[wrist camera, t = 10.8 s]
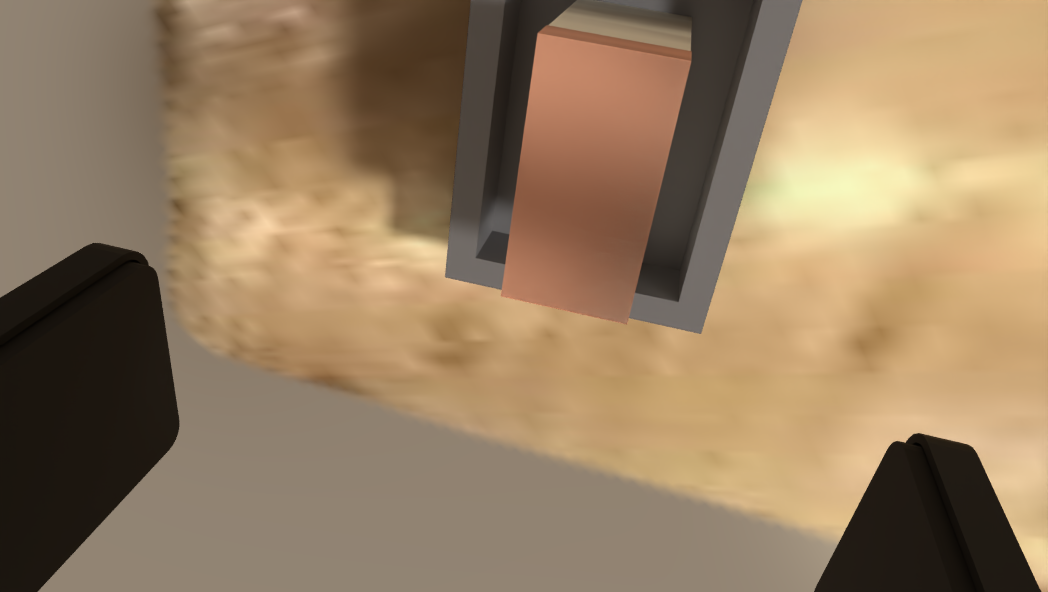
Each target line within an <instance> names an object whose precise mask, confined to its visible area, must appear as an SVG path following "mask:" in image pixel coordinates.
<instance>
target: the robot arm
mask: <svg viewBox="0 0 1048 592" xmlns="http://www.w3.org/2000/svg"><path fill="white" fill-rule="evenodd" d="M178 430H179V415H178V409H177V402H176V396H175V389H174V382H173V376H172V369H171V362H170V355H169V348H168V342H167V336H166V328H165V322H164V315H163V308H162V301H161V294H160V288H159V281H158V276H157V273H156V271H155V270H154V269H153V268H152V267H150V266H149V265H148V261H147V260H146V258H145V257H144V256H143V255H142V254H141V253H139V252H136V251H132V250H128V249H123V248H119V247H114V246H110V245H106V244H101V243H92V244H90V245H87V246H85V247H83V248H82V249H80V250H79V251H77V252H75V253H74V254H72V255H70V256H69V257H67V258H65V259H64V260H62V261H60V262H59V263H57V264H55V265H54V266H52V267H50V268H49V269H47V270H46V271H44V272H42V273H41V274H39V275H37V276H35V277H34V278H32V279H31V280H29V281H27V282H26V283H24V284H22V285H21V286H19V287H17V288H16V289H14V290H12V291H11V292H9V293H7V294H6V295H4V296H2V297H1V298H0V592H38V591H39V589H40V588H41V587H42V586H43V585H44V584H45V583H46V582H47V581H48V580H49V579H50V578H51V577H52V575H53V574H54V573H55V572H56V571H57V570H58V569H59V568H60V567H61V566H62V565H63V564H64V563H65V561H66V560H67V559H68V558H69V557H70V556H71V555H72V554H73V553H74V552H75V551H76V550H77V549H78V547H79V546H80V545H81V544H82V543H83V542H84V541H85V540H86V539H87V537H89V536H90V535H91V533H92V532H93V531H94V530H95V529H96V528H97V527H98V526H99V525H100V524H101V523H102V522H103V521H104V520H105V518H106V517H107V516H108V515H109V514H110V513H111V512H112V511H113V510H114V509H115V508H116V507H117V506H118V504H119V503H120V502H121V501H122V500H123V499H124V498H125V497H126V496H127V495H128V494H129V493H130V492H131V490H132V489H133V488H134V487H135V486H136V485H137V484H138V483H139V482H140V481H141V480H142V479H143V477H144V476H145V475H146V474H147V473H148V472H149V471H150V470H151V469H152V468H153V467H154V465H155V464H157V462H158V461H159V460H160V459H161V458H162V457H163V456H164V455H165V454H166V453H167V452H168V451H169V449H170V448H171V447H172V445H173V444H174V442H175V440H176V437H177V435H178ZM814 592H1041V590H1040V589H1039V586H1038V584H1037V582H1036V580H1035V578H1034V576H1033V573H1032V571H1031V569H1030V567H1029V565H1028V563H1027V560H1026V558H1025V556H1024V554H1023V552H1022V550H1021V548H1020V545H1019V543H1018V541H1017V539H1016V537H1015V535H1014V532H1013V530H1012V528H1011V526H1010V524H1009V522H1008V519H1007V517H1006V515H1005V513H1004V511H1003V509H1002V506H1001V504H1000V502H999V500H998V498H997V496H996V494H995V491H994V489H993V487H992V485H991V483H990V481H989V478H988V476H987V474H986V472H985V470H984V468H983V465H982V463H981V461H980V459H979V457H978V455H977V453H976V451H975V450H974V449H973V447H971V446H969V445H967V444H963V443H959V442H955V441H950V440H946V439H942V438H938V437H933V436H929V435H925V434H920V433H917V434H913V435H912V436H911V437H910V438H909V439H908V440H907V441H906V443H904V442H900V441H896V442H893V443H892V444H891V445H890V446H889V448H888V449H887V451H886V453H885V455H884V457H883V459H882V461H881V463H880V465H879V467H878V468H877V470H876V472H875V474H874V476H873V478H872V480H871V482H870V484H869V486H868V488H867V490H866V492H865V493H864V495H863V497H862V499H861V501H860V503H859V505H858V507H857V509H856V511H855V513H854V515H853V517H852V519H851V520H850V522H849V524H848V526H847V528H846V530H845V532H844V534H843V536H842V538H841V540H840V542H839V544H838V545H837V548H836V549H835V551H834V553H833V555H832V557H831V559H830V561H829V563H828V565H827V567H826V569H825V570H824V572H823V574H822V576H821V578H820V580H819V582H818V584H817V586H816V588H815V591H814Z"/></svg>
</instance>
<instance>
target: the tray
mask: <svg viewBox="0 0 1048 592" xmlns="http://www.w3.org/2000/svg"><path fill="white" fill-rule="evenodd" d="M575 1H576V0H471V4H470V15H469V26H468V36H467V47H466V58H465V69H464V79H463V90H462V101H461V112H460V122H459V133H458V144H457V155H456V165H455V176H454V187H453V198H452V208H451V219H450V230H449V241H448V251H447V262H446V273H445V277H446V278H451V279H455V280H460V281H464V282H469V283H473V284H478V285H482V286H487V287H491V288H496V289H500V290H502V285H503V277H504V270H505V263H506V256H507V249H508V242H509V234H510V227H511V220H512V213H513V206H514V199H515V192H516V184H517V177H518V170H519V163H520V156H521V149H522V142H523V134H524V127H525V120H526V113H527V106H528V99H529V92H530V84H531V77H532V70H533V63H534V56H535V49H536V41H537V34H538V32H539V31H541V30H542V29H543V28H544V27H545V26H546V25H549V24H550V23H552V22H553V21H554V20H555V19H556V18H557V17H558V16H559V15H561V14H562V13H563V12H564V11H565V10H566V9H567V8H569V7H570V6H571V5H572V4H573V3H574V2H575ZM597 1H603V2H608V3H614V4H620V5H625V6H631V7H637V8H642V9H648V10H654V11H659V12H665V13H671V14H676V15H682V16H688V17H692V29H691V51H692V56H691V65H690V69H689V73H688V77H687V81H686V85H685V89H684V93H683V97H682V101H681V106H680V110H679V114H678V118H677V122H676V126H675V130H674V134H673V138H672V142H671V146H670V151H669V155H668V159H667V163H666V167H665V171H664V175H663V179H662V183H661V187H660V191H659V196H658V200H657V204H656V208H655V212H654V216H653V220H652V224H651V228H650V232H649V237H648V241H647V245H646V249H645V253H644V257H643V261H642V265H641V269H640V273H639V277H638V282H637V286H636V290H635V294H634V298H633V302H632V306H631V310H630V314H629V318H631V319H636V320H640V321H645V322H649V323H654V324H658V325H663V326H667V327H672V328H676V329H681V330H685V331H690V332H694V333H699V334H701V332H702V329H703V326H704V322H705V319H706V316H707V312H708V309H709V306H710V302H711V299H712V296H713V293H714V289H715V286H716V283H717V279H718V276H719V273H720V270H721V266H722V263H723V260H724V256H725V253H726V250H727V247H728V243H729V240H730V237H731V233H732V230H733V227H734V224H735V220H736V217H737V214H738V210H739V207H740V204H741V200H742V197H743V194H744V191H745V187H746V184H747V181H748V177H749V174H750V171H751V168H752V164H753V161H754V158H755V154H756V151H757V148H758V145H759V141H760V138H761V135H762V131H763V128H764V125H765V121H766V118H767V115H768V112H769V108H770V105H771V102H772V98H773V95H774V92H775V89H776V85H777V82H778V79H779V75H780V72H781V69H782V66H783V62H784V59H785V56H786V52H787V49H788V46H789V43H790V39H791V36H792V33H793V29H794V26H795V23H796V19H797V16H798V13H799V10H800V6H801V3H802V0H597Z"/></svg>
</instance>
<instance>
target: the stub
mask: <svg viewBox="0 0 1048 592" xmlns="http://www.w3.org/2000/svg"><path fill="white" fill-rule="evenodd" d="M691 29H692V17H688V16H682V15H676V14H671V13H665V12H659V11H654V10H648V9H642V8H637V7H631V6H625V5H620V4H614V3H608V2H603V1H597V0H576V1H575V2H574V3H573V4H572V5H571V6H570V7H569V8H567V9H566V10H565V11H564V12H563V13H562V14H561V15H559V16H558V17H557V18H556V19H555V20H554V21H553V22H552V23H550V24H549V25H546V26H545V27H544V28H543V29H542V30H541V31H539V32H538V34H537V41H536V49H535V56H534V63H533V70H532V77H531V84H530V92H529V99H528V106H527V113H526V120H525V127H524V134H523V142H522V149H521V156H520V163H519V170H518V177H517V184H516V192H515V199H514V206H513V213H512V220H511V227H510V234H509V242H508V249H507V256H506V263H505V270H504V277H503V285H502V292H501V296H502V297H506V298H511V299H515V300H520V301H524V302H529V303H533V304H538V305H542V306H547V307H551V308H556V309H560V310H565V311H569V312H573V313H578V314H582V315H587V316H591V317H596V318H600V319H605V320H609V321H614V322H618V323H623V324H627V323H628V318H629V314H630V310H631V306H632V302H633V298H634V294H635V290H636V286H637V282H638V277H639V273H640V269H641V265H642V261H643V257H644V253H645V249H646V245H647V241H648V237H649V232H650V228H651V224H652V220H653V216H654V212H655V208H656V204H657V200H658V196H659V191H660V187H661V183H662V179H663V175H664V171H665V167H666V163H667V159H668V155H669V151H670V146H671V142H672V138H673V134H674V130H675V126H676V122H677V118H678V114H679V110H680V106H681V101H682V97H683V93H684V89H685V85H686V81H687V77H688V73H689V69H690V65H691V56H692V51H691Z"/></svg>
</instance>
